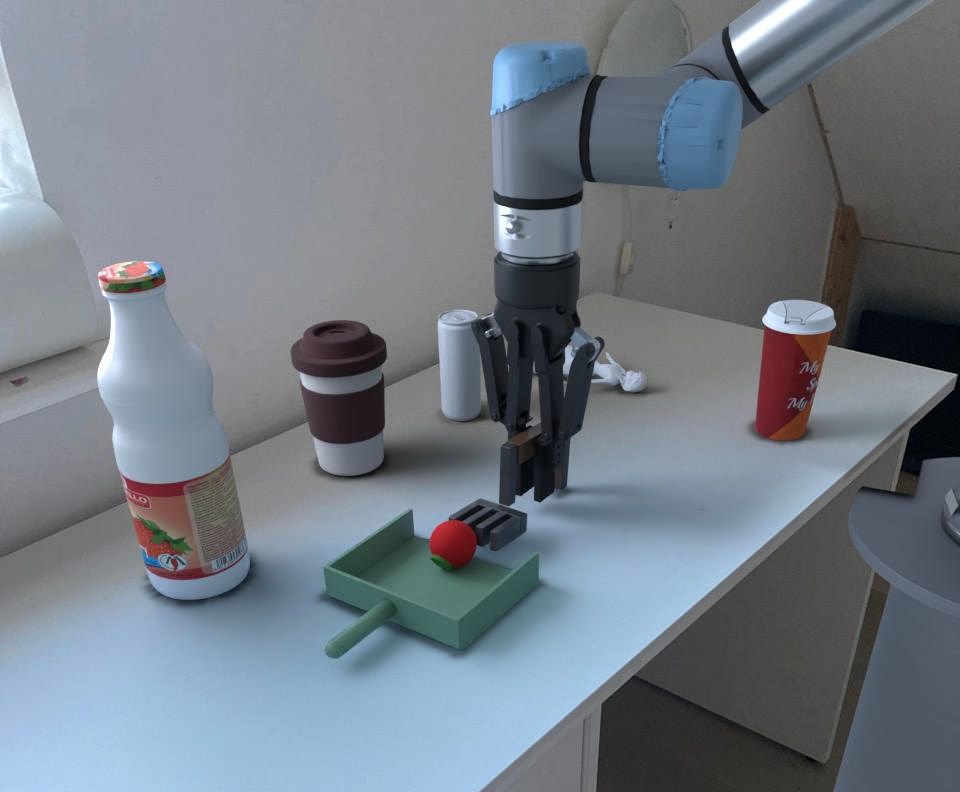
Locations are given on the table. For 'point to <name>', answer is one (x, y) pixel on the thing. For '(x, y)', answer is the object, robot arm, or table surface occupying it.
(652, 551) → the table surface
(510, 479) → the fork
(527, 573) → the green dustpan
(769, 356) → the paper cup
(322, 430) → the coffee cup
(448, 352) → the beverage can
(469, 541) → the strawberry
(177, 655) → the table surface
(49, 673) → the table surface
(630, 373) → the woman figurine
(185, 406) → the fruit juice
